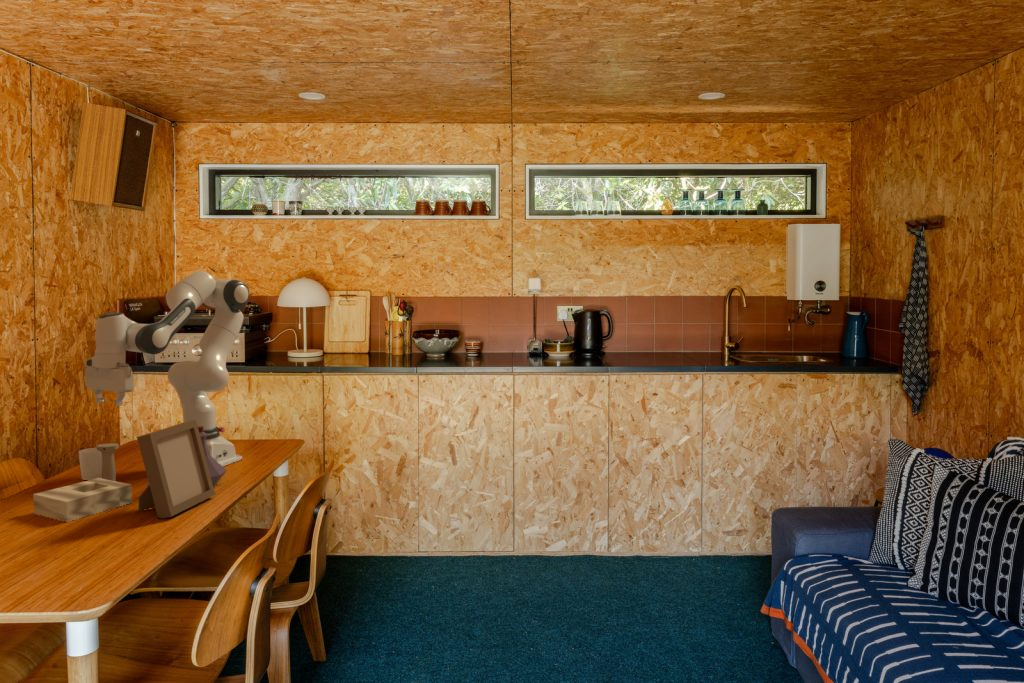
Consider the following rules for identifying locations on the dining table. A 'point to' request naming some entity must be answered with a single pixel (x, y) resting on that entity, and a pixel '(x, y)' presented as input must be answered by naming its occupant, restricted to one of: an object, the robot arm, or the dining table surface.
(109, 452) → the handle
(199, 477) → the photo frame
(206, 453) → the flask
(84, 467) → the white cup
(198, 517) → the dining table surface
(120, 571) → the dining table surface
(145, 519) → the dining table surface
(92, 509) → the socket block
